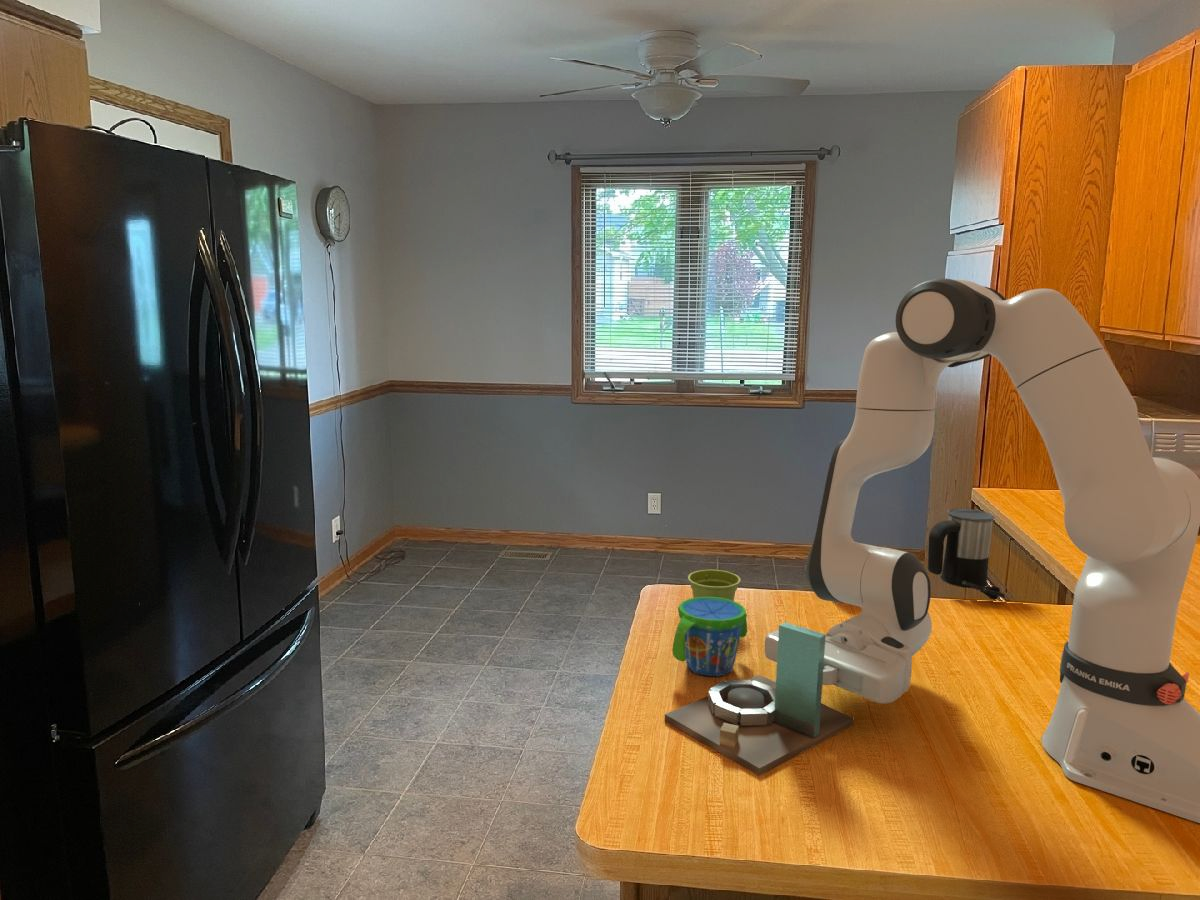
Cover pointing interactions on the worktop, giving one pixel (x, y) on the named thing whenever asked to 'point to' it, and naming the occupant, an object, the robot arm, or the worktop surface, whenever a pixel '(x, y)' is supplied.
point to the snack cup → (709, 634)
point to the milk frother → (963, 550)
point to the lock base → (752, 730)
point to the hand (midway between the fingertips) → (799, 678)
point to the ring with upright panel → (783, 685)
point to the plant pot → (714, 584)
